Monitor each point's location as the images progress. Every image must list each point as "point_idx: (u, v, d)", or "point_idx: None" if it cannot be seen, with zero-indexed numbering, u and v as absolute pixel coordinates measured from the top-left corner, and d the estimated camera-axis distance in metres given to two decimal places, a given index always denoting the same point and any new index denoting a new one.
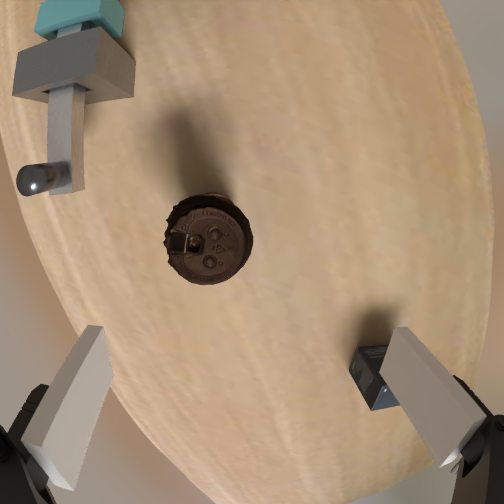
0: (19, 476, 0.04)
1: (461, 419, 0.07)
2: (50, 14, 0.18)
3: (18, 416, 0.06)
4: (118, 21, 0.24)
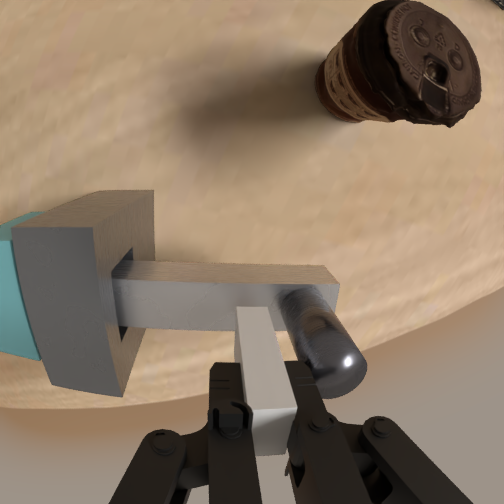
0: (247, 456, 0.06)
1: None
2: (13, 333, 0.14)
3: (209, 396, 0.09)
4: None
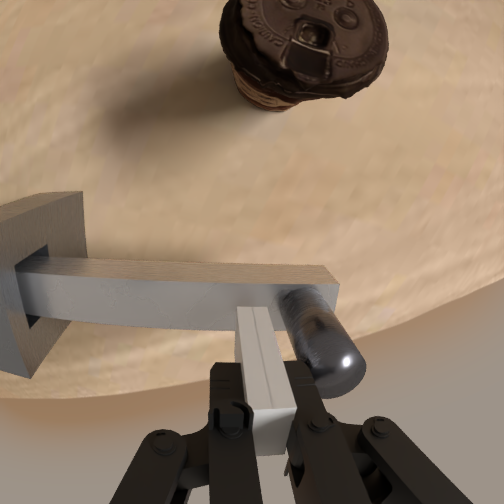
0: (247, 456, 0.06)
1: None
2: None
3: None
4: None
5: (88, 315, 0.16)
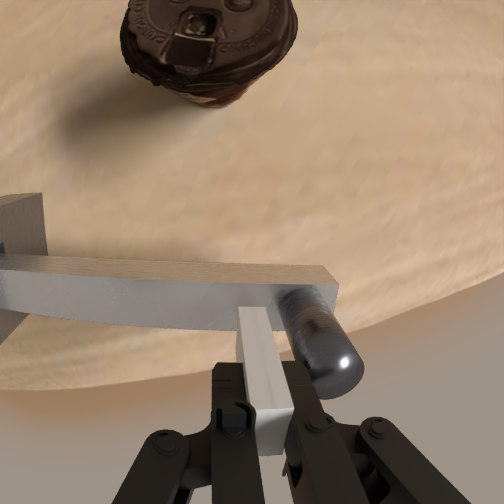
0: (250, 456, 0.06)
1: None
2: None
3: None
4: None
5: (88, 314, 0.16)
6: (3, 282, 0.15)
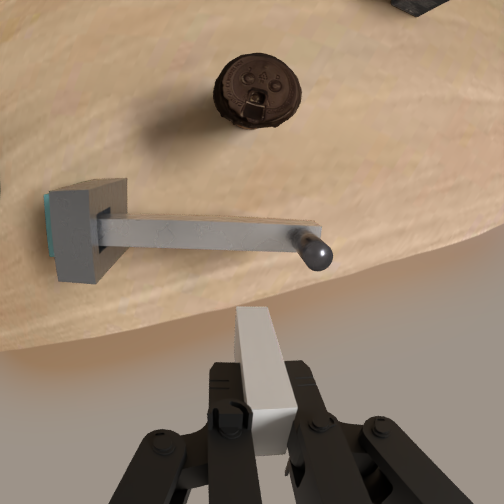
0: (246, 456, 0.06)
1: None
2: None
3: (209, 396, 0.09)
4: None
5: (183, 244, 0.31)
6: (121, 227, 0.30)
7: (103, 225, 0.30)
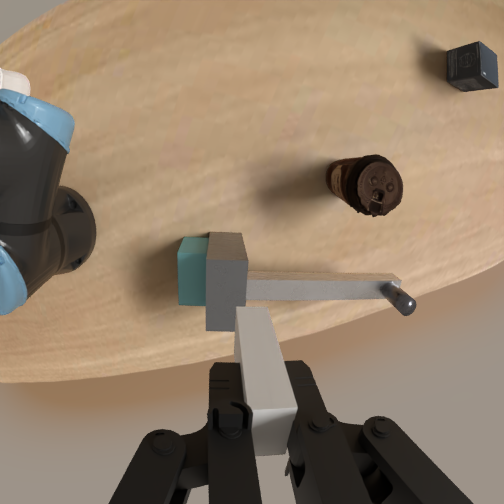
0: (246, 456, 0.06)
1: None
2: (194, 294, 0.42)
3: (209, 396, 0.09)
4: (198, 240, 0.46)
5: (311, 297, 0.41)
6: (264, 286, 0.40)
7: (248, 284, 0.40)
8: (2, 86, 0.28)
